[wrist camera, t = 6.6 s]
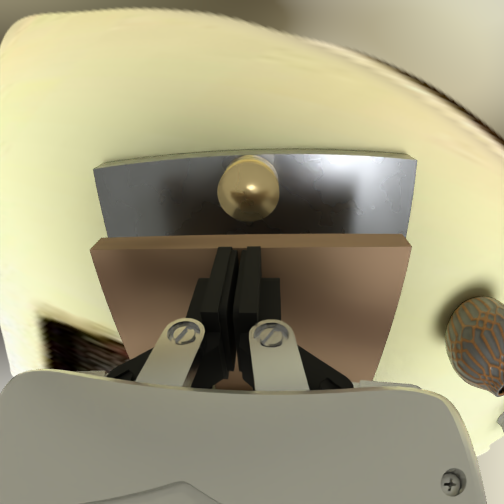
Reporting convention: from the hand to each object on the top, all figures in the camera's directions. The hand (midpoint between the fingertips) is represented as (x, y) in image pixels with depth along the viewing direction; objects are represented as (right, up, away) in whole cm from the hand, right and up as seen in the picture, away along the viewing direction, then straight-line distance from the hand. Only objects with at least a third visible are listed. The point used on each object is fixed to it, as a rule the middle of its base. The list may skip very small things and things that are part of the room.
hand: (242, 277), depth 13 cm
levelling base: (+1, -4, +11) cm, 11 cm away
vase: (+20, -5, +10) cm, 23 cm away
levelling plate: (+1, -7, +5) cm, 9 cm away
